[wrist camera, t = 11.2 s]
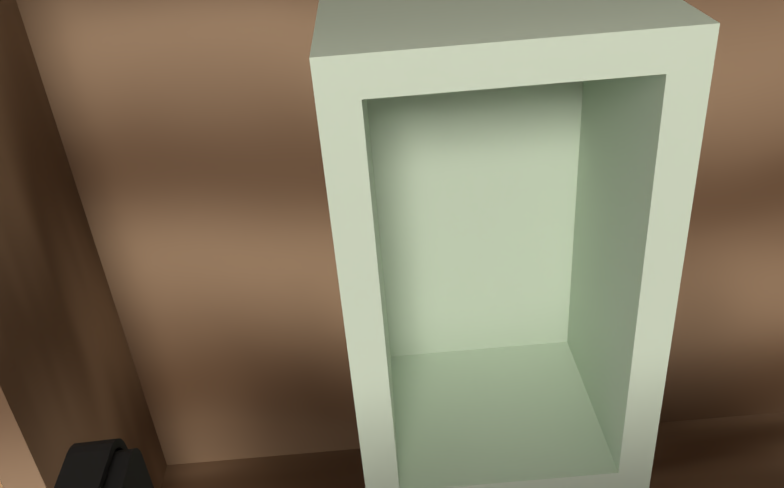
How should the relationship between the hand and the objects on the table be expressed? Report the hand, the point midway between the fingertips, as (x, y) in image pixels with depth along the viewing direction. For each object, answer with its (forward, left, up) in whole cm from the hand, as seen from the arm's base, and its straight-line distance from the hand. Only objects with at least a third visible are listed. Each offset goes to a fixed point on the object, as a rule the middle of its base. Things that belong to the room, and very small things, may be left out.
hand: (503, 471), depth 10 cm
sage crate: (0, +1, -9) cm, 9 cm away
